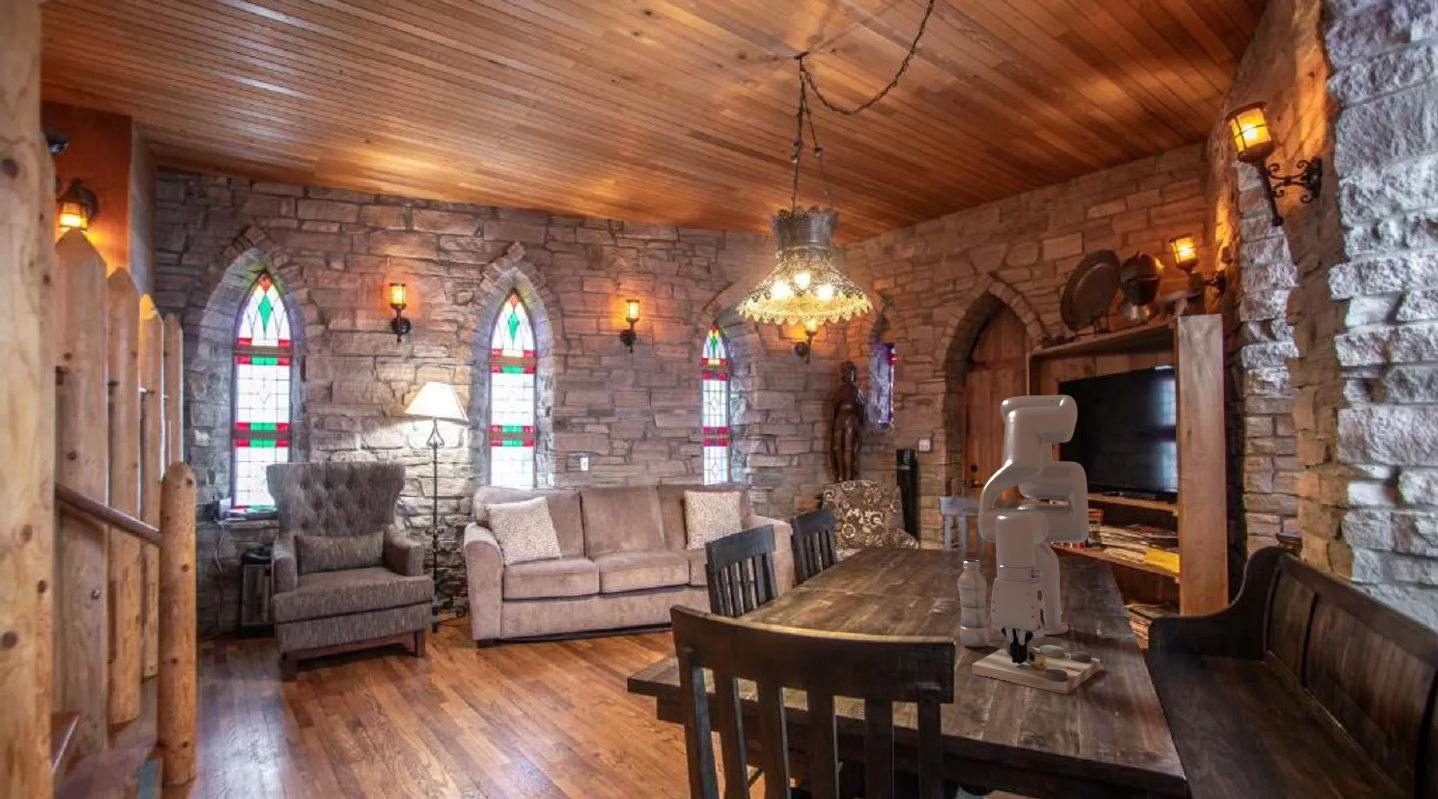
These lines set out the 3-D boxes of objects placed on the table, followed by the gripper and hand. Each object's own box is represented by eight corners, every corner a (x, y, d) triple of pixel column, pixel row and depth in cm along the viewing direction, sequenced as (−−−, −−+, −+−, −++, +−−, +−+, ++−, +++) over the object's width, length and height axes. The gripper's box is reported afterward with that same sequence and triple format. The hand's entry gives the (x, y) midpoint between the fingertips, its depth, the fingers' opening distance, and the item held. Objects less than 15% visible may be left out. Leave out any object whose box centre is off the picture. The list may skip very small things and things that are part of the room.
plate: (1011, 652, 175) (1011, 637, 175) (1100, 669, 162) (1099, 653, 162) (972, 673, 161) (972, 657, 161) (1066, 694, 148) (1065, 676, 148)
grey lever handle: (1002, 649, 170) (1002, 635, 170) (1025, 649, 170) (1025, 635, 170) (1029, 671, 155) (1029, 656, 155) (1054, 670, 154) (1054, 655, 155)
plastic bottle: (991, 650, 176) (988, 563, 177) (960, 649, 178) (958, 563, 179) (987, 643, 183) (984, 558, 183) (958, 642, 184) (955, 558, 185)
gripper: (1059, 574, 157) (1062, 664, 157) (989, 566, 168) (992, 650, 167) (1045, 581, 152) (1048, 674, 151) (973, 571, 162) (976, 659, 162)
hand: (1019, 661), depth 159 cm, fingers closed
